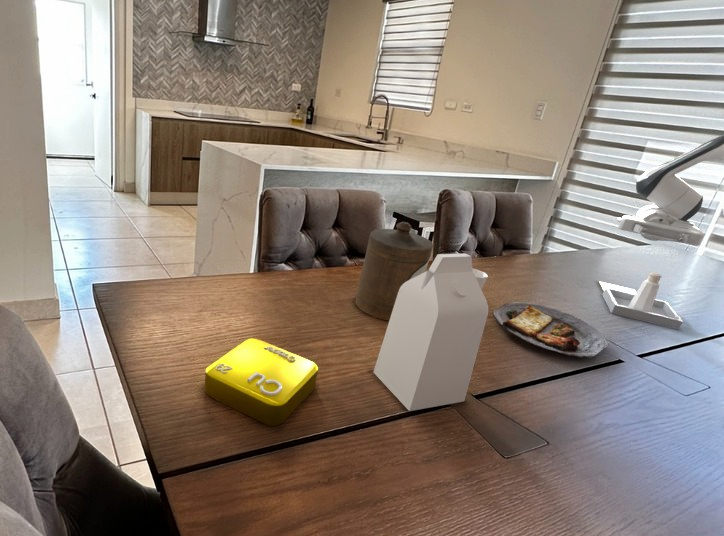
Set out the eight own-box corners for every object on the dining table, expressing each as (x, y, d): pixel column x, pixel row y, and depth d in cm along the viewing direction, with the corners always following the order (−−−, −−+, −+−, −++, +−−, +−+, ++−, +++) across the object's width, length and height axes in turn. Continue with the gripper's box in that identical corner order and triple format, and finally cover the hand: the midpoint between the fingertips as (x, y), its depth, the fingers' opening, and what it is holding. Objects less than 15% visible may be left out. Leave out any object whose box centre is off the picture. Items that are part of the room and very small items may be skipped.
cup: (450, 300, 126) (458, 272, 123) (456, 288, 134) (464, 262, 131) (477, 308, 123) (486, 280, 120) (482, 295, 131) (490, 269, 128)
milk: (424, 365, 94) (459, 242, 84) (464, 401, 84) (509, 267, 74) (373, 372, 90) (403, 243, 79) (409, 411, 80) (449, 270, 70)
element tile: (318, 385, 84) (322, 362, 82) (276, 431, 72) (279, 405, 70) (248, 354, 90) (251, 333, 88) (199, 392, 78) (200, 368, 76)
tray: (663, 309, 137) (667, 301, 136) (678, 330, 125) (683, 321, 124) (602, 295, 143) (605, 287, 142) (611, 313, 130) (615, 304, 129)
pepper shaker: (641, 314, 130) (658, 278, 126) (623, 305, 135) (639, 270, 131) (655, 313, 132) (672, 278, 128) (636, 304, 137) (653, 270, 132)
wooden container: (418, 326, 109) (442, 236, 101) (355, 315, 111) (373, 226, 102) (411, 300, 123) (432, 219, 114) (355, 290, 124) (371, 209, 116)
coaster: (634, 290, 150) (634, 289, 150) (642, 301, 141) (642, 300, 141) (598, 282, 153) (599, 281, 153) (603, 292, 145) (604, 291, 145)
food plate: (578, 374, 98) (584, 360, 96) (474, 325, 114) (479, 312, 112) (616, 343, 113) (622, 330, 112) (521, 304, 129) (525, 292, 127)
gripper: (620, 208, 150) (625, 216, 138) (700, 224, 141) (711, 234, 130) (612, 227, 152) (616, 236, 141) (690, 243, 143) (700, 255, 132)
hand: (662, 235), depth 135 cm, fingers open, 8 cm apart
